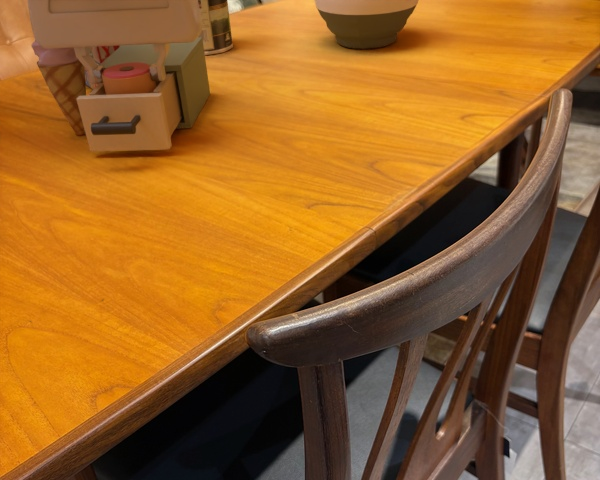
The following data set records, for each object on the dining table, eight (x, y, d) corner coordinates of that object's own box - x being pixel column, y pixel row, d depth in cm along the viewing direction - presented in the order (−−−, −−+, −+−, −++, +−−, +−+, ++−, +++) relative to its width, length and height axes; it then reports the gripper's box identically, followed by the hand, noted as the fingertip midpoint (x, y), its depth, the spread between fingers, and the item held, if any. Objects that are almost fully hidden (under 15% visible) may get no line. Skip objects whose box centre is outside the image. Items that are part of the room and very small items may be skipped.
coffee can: (225, 39, 125) (216, -39, 117) (239, 50, 117) (230, -32, 109) (176, 46, 122) (162, -33, 114) (186, 58, 115) (173, -26, 106)
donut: (100, 104, 76) (93, 77, 74) (115, 88, 82) (109, 62, 80) (150, 102, 76) (144, 75, 74) (162, 86, 81) (157, 60, 79)
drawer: (161, 163, 74) (150, 108, 70) (78, 165, 75) (62, 110, 71) (191, 112, 88) (184, 63, 84) (121, 114, 89) (110, 66, 85)
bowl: (390, 25, 127) (392, -27, 121) (436, 46, 112) (441, -11, 106) (301, 37, 122) (299, -15, 117) (336, 62, 107) (335, 2, 102)
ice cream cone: (56, 129, 88) (22, 17, 79) (100, 120, 90) (71, 10, 81) (61, 144, 83) (25, 26, 74) (107, 135, 85) (78, 19, 76)
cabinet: (191, 128, 85) (180, 64, 80) (110, 130, 86) (95, 68, 81) (210, 94, 97) (202, 36, 92) (139, 96, 98) (127, 39, 93)
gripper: (2, -34, 68) (41, 92, 76) (183, -44, 66) (202, 86, 74) (26, -42, 73) (60, 76, 81) (195, -52, 71) (212, 70, 79)
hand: (129, 81), depth 78 cm, fingers closed on donut, 6 cm apart
